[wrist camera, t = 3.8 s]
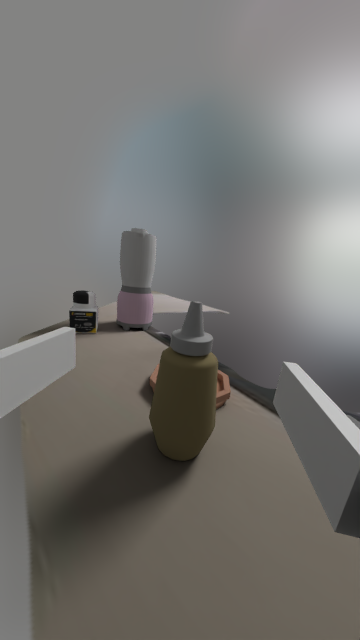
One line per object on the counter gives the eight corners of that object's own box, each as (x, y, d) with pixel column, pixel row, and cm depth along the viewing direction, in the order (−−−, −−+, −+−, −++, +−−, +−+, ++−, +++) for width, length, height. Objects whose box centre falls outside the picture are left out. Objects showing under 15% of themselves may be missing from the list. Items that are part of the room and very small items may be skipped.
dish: (224, 375, 45) (226, 366, 45) (230, 420, 32) (232, 407, 31) (161, 365, 47) (162, 356, 46) (141, 403, 33) (142, 390, 33)
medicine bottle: (69, 333, 60) (68, 292, 57) (74, 326, 67) (73, 288, 64) (96, 333, 62) (96, 293, 59) (97, 326, 69) (98, 290, 66)
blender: (154, 331, 70) (162, 230, 63) (116, 331, 67) (120, 223, 59) (147, 319, 85) (153, 236, 77) (115, 318, 81) (118, 230, 73)
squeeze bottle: (135, 458, 24) (146, 301, 19) (159, 413, 31) (171, 294, 27) (206, 481, 22) (234, 314, 18) (213, 428, 30) (234, 302, 25)
